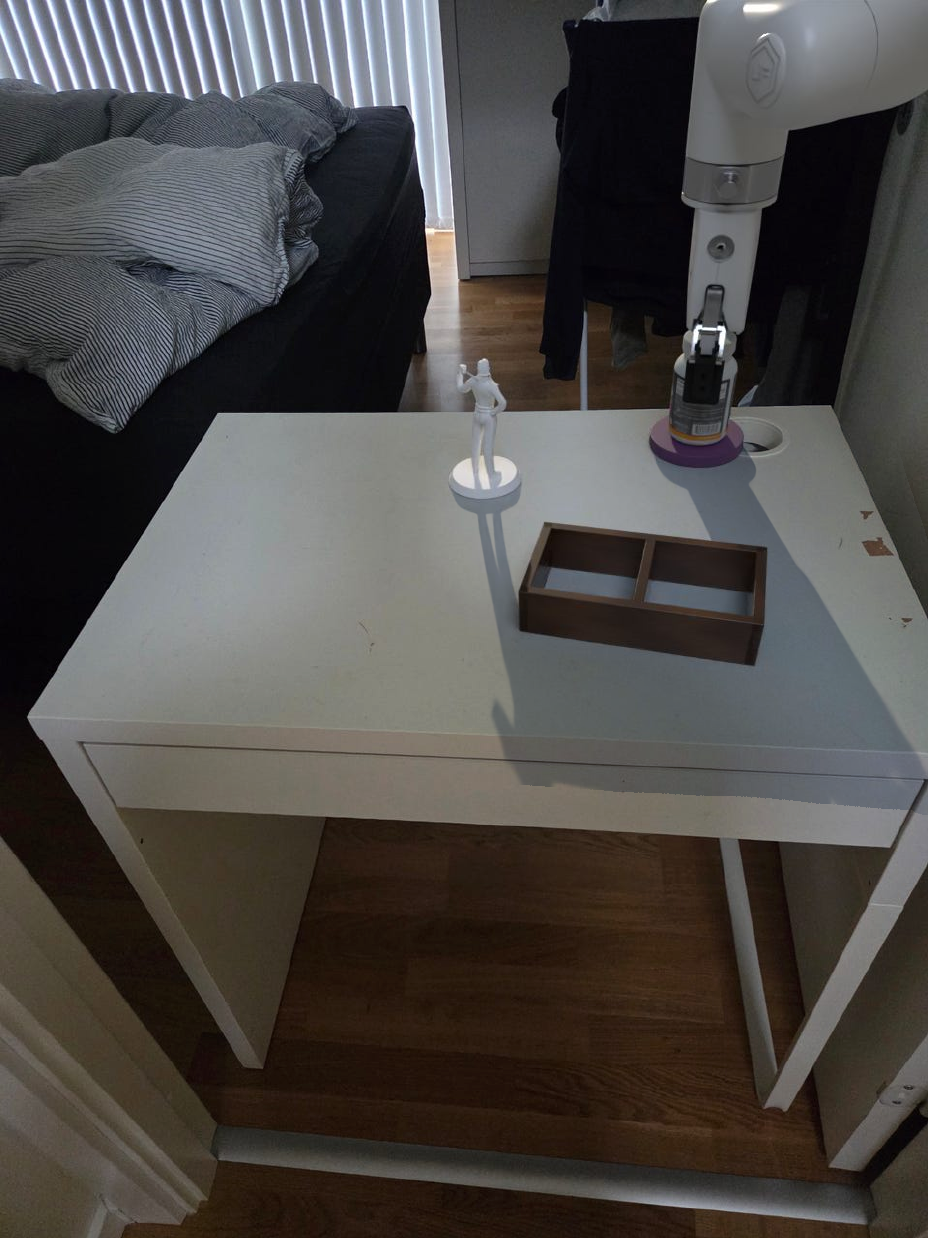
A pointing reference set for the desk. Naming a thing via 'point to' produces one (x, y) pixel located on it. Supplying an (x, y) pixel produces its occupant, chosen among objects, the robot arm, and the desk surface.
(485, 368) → the figurine
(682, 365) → the pill bottle
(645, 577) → the rack
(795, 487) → the desk surface
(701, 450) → the disc
